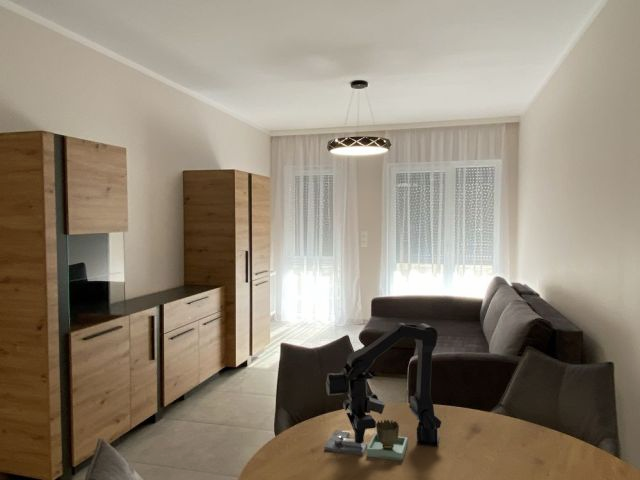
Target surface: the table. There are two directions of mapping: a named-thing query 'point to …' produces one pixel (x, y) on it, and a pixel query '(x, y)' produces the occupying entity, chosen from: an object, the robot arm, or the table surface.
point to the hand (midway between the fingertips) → (359, 438)
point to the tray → (393, 454)
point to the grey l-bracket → (344, 445)
